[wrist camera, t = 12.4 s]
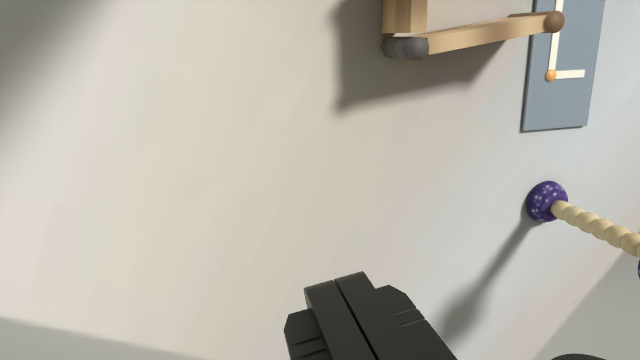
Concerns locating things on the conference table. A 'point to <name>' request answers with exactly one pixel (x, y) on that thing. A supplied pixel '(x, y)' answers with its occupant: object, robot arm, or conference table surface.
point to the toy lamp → (578, 217)
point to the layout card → (563, 66)
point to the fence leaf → (473, 35)
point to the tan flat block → (404, 16)
